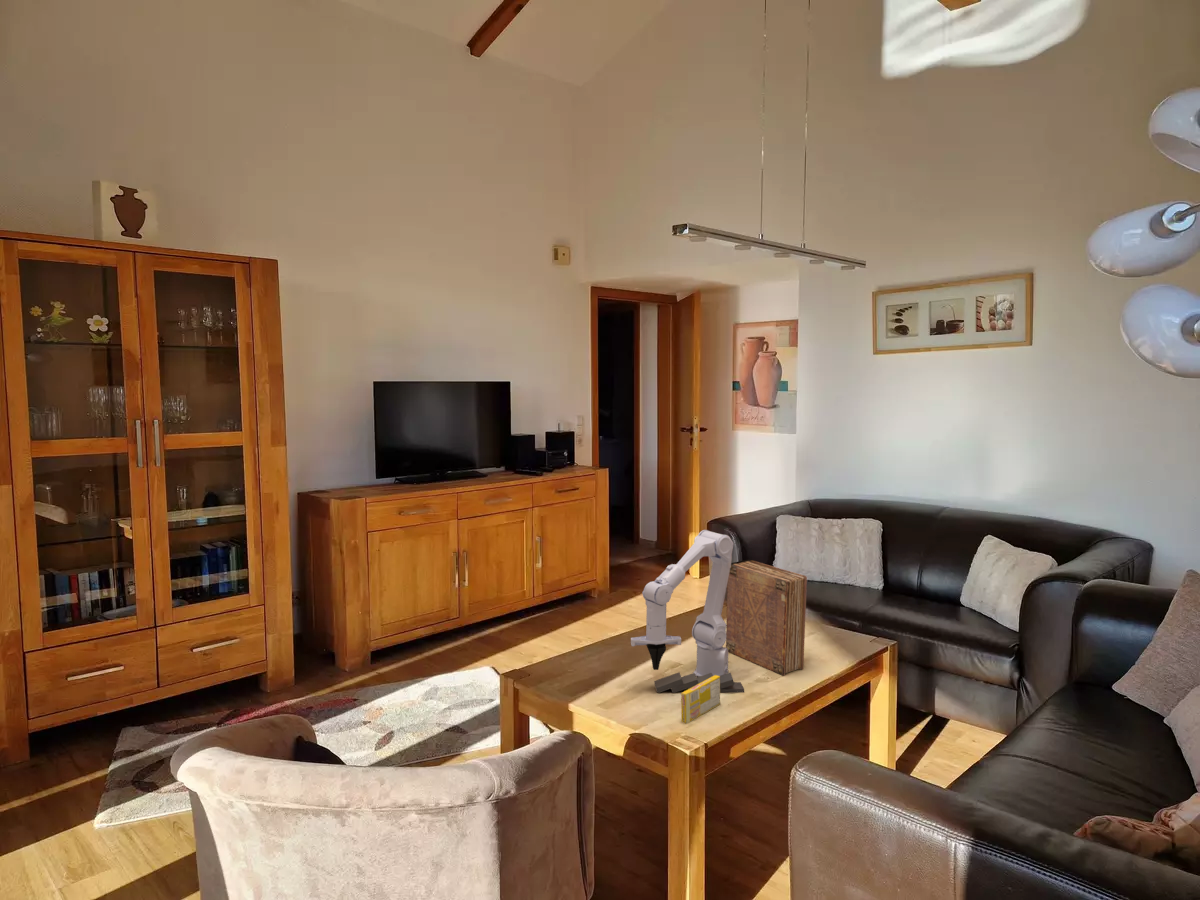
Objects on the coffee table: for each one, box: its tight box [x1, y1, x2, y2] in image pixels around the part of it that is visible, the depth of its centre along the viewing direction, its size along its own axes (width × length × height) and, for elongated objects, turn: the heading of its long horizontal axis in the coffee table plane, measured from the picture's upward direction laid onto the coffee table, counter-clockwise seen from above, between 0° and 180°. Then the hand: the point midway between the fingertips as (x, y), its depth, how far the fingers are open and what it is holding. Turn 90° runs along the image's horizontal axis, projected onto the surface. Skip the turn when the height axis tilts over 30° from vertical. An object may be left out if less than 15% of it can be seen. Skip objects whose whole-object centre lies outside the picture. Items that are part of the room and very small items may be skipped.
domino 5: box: [720, 681, 745, 694], centre depth 231 cm, size 2×5×8 cm
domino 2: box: [670, 672, 699, 694], centre depth 230 cm, size 2×5×8 cm
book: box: [725, 559, 808, 677], centre depth 251 cm, size 25×9×30 cm, turn 35°
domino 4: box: [720, 672, 735, 689], centre depth 230 cm, size 2×5×8 cm
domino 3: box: [687, 673, 713, 690], centre depth 230 cm, size 2×5×8 cm
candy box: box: [680, 675, 721, 724], centre depth 215 cm, size 16×2×8 cm, turn 138°
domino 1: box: [653, 671, 683, 694], centre depth 230 cm, size 2×5×8 cm
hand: (655, 668), depth 229 cm, fingers closed
